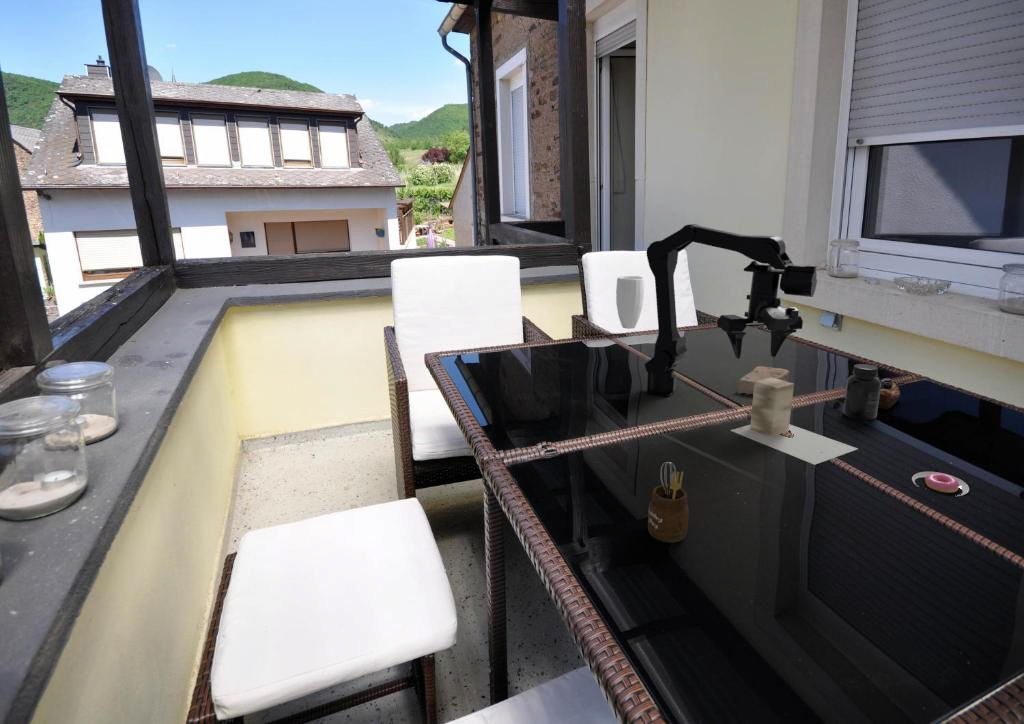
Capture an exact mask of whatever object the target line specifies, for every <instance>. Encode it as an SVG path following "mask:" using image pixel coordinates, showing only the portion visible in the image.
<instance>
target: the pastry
mask: <svg viewBox="0 0 1024 724" xmlns="http://www.w3.org/2000/svg"><path fill="white" fill-rule="evenodd" d="M876 378H877V379H879V380H880V382H881V390H880V397H879V404H878V409H886V410H888V409H890V408H892V407H893V406H895V404H897V402H898V400H899V398H900V397H901V391H900V388H899V386H898V385H894V384H892V383H891V382H886V381H885V380H883V379H880V377H879V376H876ZM844 399H845V397H844V398H843V400H844Z"/></svg>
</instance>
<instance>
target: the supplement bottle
mask: <svg viewBox="0 0 1024 724" xmlns="http://www.w3.org/2000/svg"><path fill="white" fill-rule="evenodd" d="M878 373H879V367H878V366H876V365H871V364H867V363H865V364H864V363H857V364H854V365H853V370H852V374H853V375H850V376H849V377H848V378H847V380H846V387H845V395H844V398H845V400H844V403H843V410H842V411H843V414H844V415H845V416H846V417H847V418H850V419H853V420H857V421H871V420H872V421H873V420H875V419H876V418H877V415H878V410H879V408H878V404H879V397H880V390H881V382H880V380H881V379H880V378H879V379H877V378H876V377H878Z"/></svg>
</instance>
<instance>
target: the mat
mask: <svg viewBox="0 0 1024 724" xmlns="http://www.w3.org/2000/svg"><path fill="white" fill-rule="evenodd" d="M729 430H730V432H732V433H735V434H737V435H739V436H742V437H745V438H748V439H750V440H752V441H755V442H756V443H760V444H762V445H765V446H767V447H770V448H772V449H775V450H777V451H780V452H782V453H784V454H787V455H789V456H793V457H794V458H797V459H800V460H801V461H804V462H807V463H809V464H811V465H814V466H815V465H817V464H820V463H823V462H826V461H829V460H832V459H834V458H835V459H836V458H837V457H840V456H843V455H846V454H848V453H849V454H850V453H851V452H855V451H856V450H859V448H857V447H855V446H852V445H849V444H846V443H843V442H840V441H837V440H835V439H832V438H829V437H827V436H824V435H821V434H818V433H815V432H813V431H809V430H807V429H804V428H801V427H798V426H795V425H793V424H790V423H789V430H790V431H791V433H792V435H793V434H794V437H793V438H788V437H785V436H782V435H778V436H775V437H769V436H766V435H764V434H761V433H759V432H756V431H754V430H751V429H750V424H748V425H744V426H740V427H737V428H734V429H729ZM821 452H822V453H821Z"/></svg>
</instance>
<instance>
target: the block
mask: <svg viewBox="0 0 1024 724" xmlns="http://www.w3.org/2000/svg"><path fill="white" fill-rule="evenodd" d="M794 388H795V383H792V382H789V381H787V382H786V381H783V380H779V379H776V378H772V377H771V378H767V379H762V380H758V381H755V383H754V393H753V395H752V405H751V413H750V414H751V415H750V424H749V425H750V429H751V430H754V431H756V432H759V433H761V434H764V435H766V436H769V437H775V436H778V435H780V434H781V433H784V432H788V431H789V424H790V420H791V413H792V404H793V397H794Z"/></svg>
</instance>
